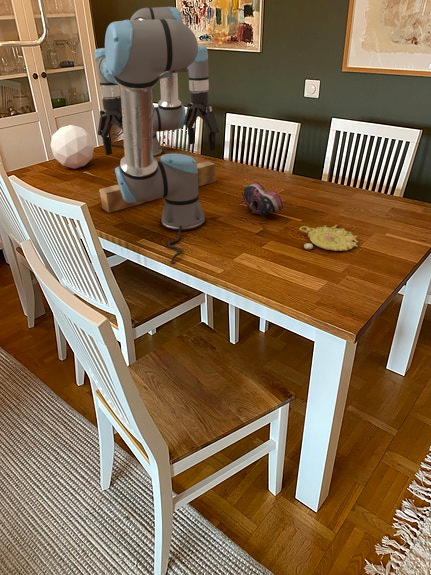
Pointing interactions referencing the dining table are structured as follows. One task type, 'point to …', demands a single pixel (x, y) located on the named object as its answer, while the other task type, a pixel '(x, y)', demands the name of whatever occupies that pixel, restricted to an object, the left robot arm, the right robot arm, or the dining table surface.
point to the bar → (115, 201)
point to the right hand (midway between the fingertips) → (121, 157)
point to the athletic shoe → (261, 200)
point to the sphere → (72, 146)
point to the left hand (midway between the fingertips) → (201, 147)
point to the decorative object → (330, 238)
